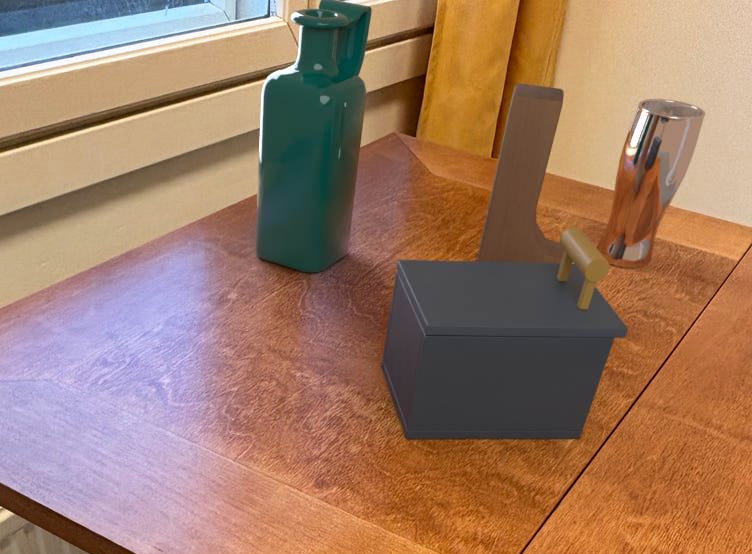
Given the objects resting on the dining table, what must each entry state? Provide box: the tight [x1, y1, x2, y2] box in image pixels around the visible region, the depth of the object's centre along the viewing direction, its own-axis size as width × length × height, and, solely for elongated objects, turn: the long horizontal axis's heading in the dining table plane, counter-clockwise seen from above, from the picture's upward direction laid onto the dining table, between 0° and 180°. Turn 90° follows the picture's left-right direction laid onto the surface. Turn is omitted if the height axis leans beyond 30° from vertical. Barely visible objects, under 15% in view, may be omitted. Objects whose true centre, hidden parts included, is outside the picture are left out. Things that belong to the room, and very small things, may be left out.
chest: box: [380, 270, 615, 440], centre depth 73 cm, size 15×12×9 cm
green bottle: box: [254, 0, 373, 274], centre depth 89 cm, size 10×8×22 cm
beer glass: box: [596, 98, 706, 269], centre depth 95 cm, size 7×7×15 cm
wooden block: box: [475, 83, 565, 264], centre depth 86 cm, size 9×4×18 cm, turn 75°
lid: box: [396, 226, 629, 339], centre depth 68 cm, size 15×12×5 cm
